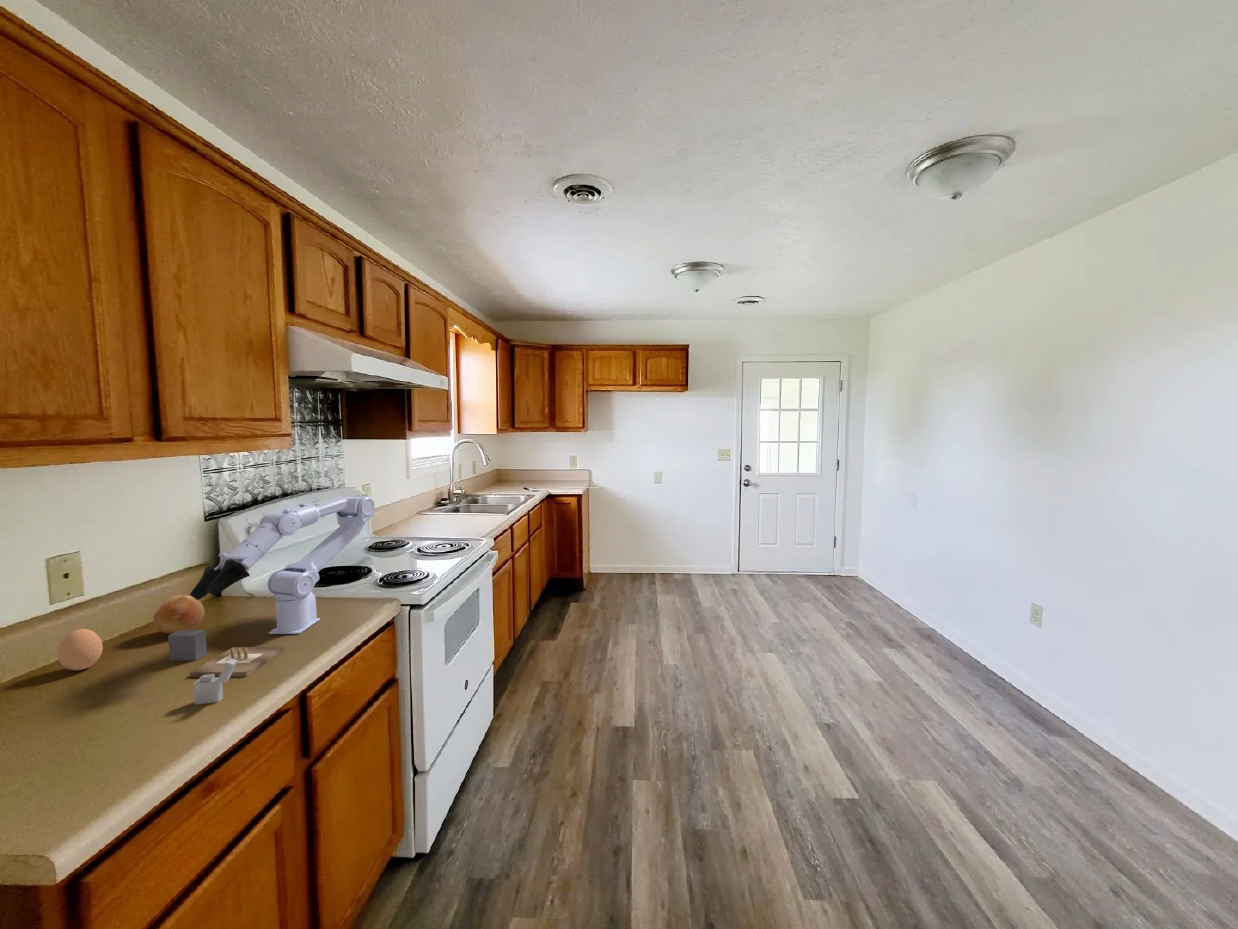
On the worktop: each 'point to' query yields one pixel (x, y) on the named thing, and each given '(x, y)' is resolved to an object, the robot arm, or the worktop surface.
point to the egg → (80, 649)
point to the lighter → (212, 685)
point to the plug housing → (187, 645)
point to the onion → (178, 614)
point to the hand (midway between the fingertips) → (202, 595)
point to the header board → (239, 661)
